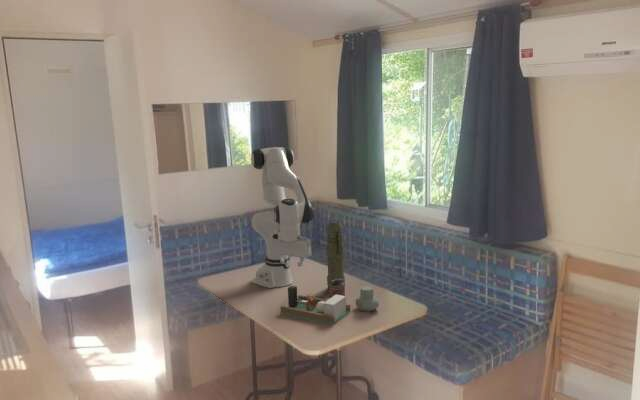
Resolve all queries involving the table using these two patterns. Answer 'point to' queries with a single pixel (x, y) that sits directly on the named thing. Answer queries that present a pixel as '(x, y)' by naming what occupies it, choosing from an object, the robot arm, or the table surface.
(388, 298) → the table surface
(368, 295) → the air freshener
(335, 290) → the lighter
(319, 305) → the ball
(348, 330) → the table surface
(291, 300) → the rod
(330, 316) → the pitch
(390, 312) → the table surface
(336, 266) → the thermos
